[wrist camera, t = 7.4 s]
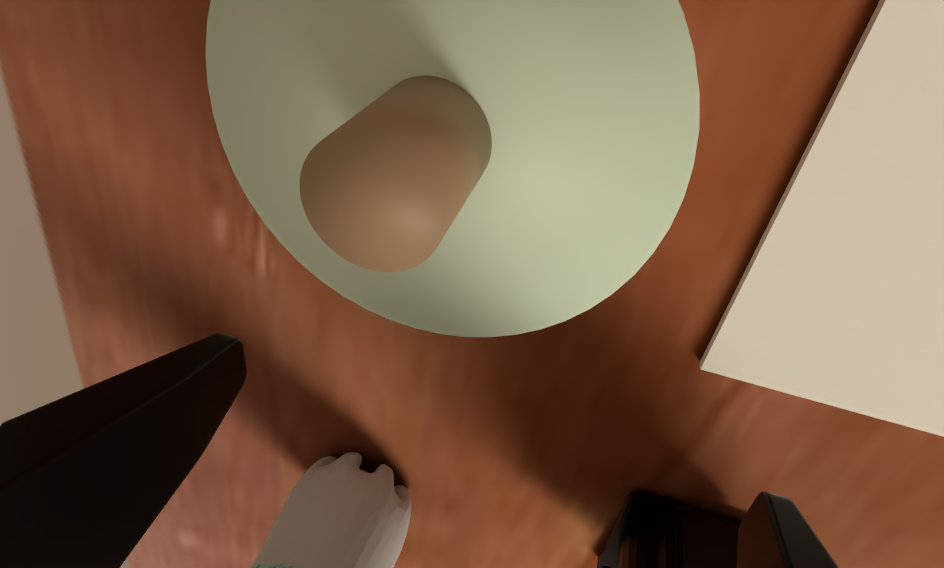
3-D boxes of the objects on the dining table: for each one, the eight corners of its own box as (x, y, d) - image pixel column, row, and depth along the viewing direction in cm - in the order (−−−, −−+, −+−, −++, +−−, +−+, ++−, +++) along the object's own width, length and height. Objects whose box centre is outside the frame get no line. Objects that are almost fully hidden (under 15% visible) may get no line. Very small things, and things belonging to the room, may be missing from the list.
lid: (613, 367, 19) (600, 490, 15) (245, 264, 21) (150, 351, 17) (798, -121, 11) (867, -122, 7) (191, -218, 13) (-5, -258, 9)
